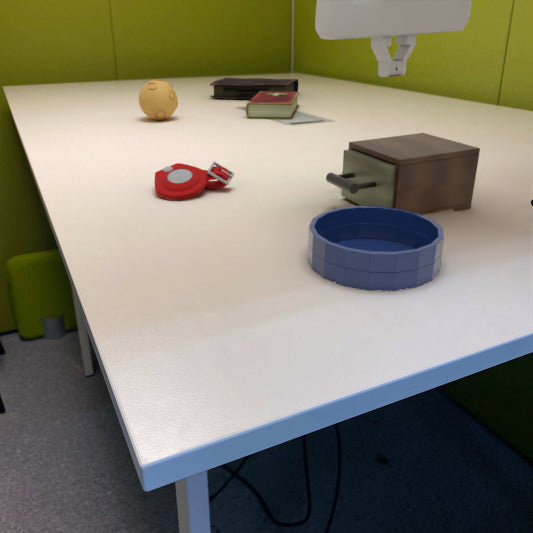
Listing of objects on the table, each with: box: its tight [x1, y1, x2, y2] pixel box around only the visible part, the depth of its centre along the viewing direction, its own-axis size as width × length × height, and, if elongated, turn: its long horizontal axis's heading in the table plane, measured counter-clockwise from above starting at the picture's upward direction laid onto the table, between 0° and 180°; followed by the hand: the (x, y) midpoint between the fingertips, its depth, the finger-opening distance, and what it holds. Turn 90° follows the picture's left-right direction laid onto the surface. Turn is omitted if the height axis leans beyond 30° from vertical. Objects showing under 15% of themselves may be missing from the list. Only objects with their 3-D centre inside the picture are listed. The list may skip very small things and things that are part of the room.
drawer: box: [325, 148, 396, 208], centre depth 77 cm, size 17×10×7 cm, turn 116°
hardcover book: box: [245, 91, 300, 120], centre depth 151 cm, size 12×21×4 cm, turn 172°
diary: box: [209, 77, 299, 100], centre depth 177 cm, size 19×25×5 cm
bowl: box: [307, 205, 445, 292], centre depth 60 cm, size 14×14×4 cm
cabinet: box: [348, 132, 481, 216], centre depth 78 cm, size 14×12×9 cm
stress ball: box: [138, 78, 179, 121], centre depth 140 cm, size 10×10×10 cm
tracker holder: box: [154, 161, 235, 201], centre depth 87 cm, size 12×4×10 cm
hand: (391, 76), depth 67 cm, fingers closed
